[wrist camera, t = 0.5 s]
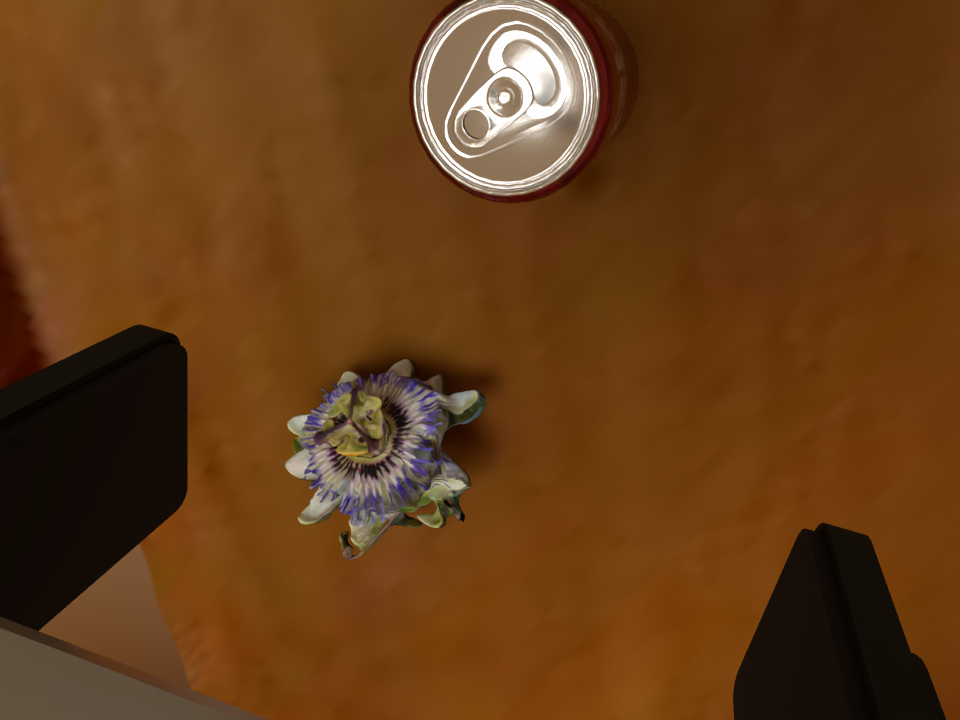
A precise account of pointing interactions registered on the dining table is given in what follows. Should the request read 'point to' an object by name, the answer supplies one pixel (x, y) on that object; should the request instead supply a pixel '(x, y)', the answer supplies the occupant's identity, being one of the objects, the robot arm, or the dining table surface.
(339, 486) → the passion flower
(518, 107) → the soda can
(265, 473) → the dining table surface
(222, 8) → the dining table surface
